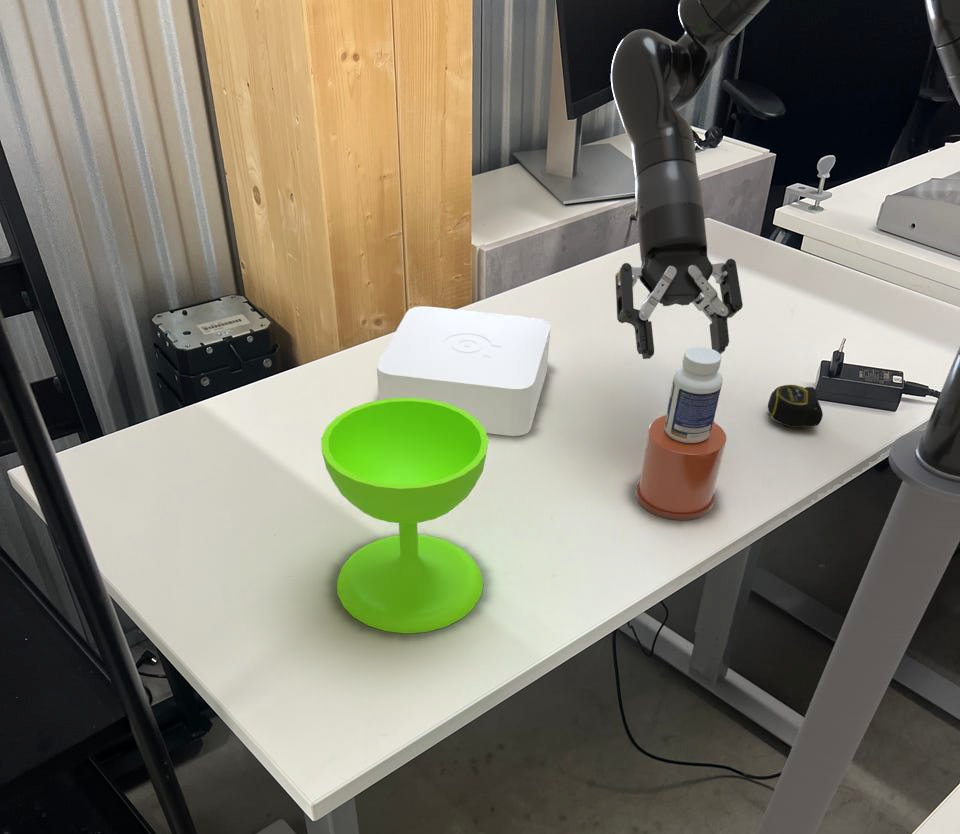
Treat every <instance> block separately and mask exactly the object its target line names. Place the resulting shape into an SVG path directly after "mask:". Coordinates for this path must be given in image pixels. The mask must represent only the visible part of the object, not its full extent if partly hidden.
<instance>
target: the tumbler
mask: <svg viewBox="0 0 960 834" xmlns="http://www.w3.org/2000/svg"><path fill="white" fill-rule="evenodd" d="M666 415H667V414H664V415H662V416H659V417H657V418H656V419H655V420H653V421H652V422H651V423H650V425H649V427H648V431H647V439H646V443H645V449H644V456H643V460H642V464H641V465H642V466H641V472H640V476H639V477H640V478H639V480H638V481H637V483H636V487H635V498H636V500H637V501H638V504H639V505H640V506H641V507H642V508H643V509H644V510H646V511H647V512H649V513H651V514H653V515H655V516H657V517H660V518H663V519H668V520H674V521H688V520H689V521H690V520H694V519H699V518H701V517H703V516H705V515H707V514H708V513H709V512H711V510H712V509H713V506H714V503H715V498H716V494H715V489H716V485H717V482H718V481H717V480H718V476H719V473H720V470H721V469H720V468H721V465H722V459H723V456H724V452H725V447H726V443H727V440H728V439H727V434H726V432H725V430H724V429H723V427H722V426H721V425H720V424H718V423H716V422H715V421H713V425H712V429H711V433H710V436H709V437H708V438H707V439H706V440H704V441H702V442H698V443H683V442H679V441H677V440H674V439H673V438H671V437H670V436H669V435H668V434H667V433H666V431H665V421H666Z"/></svg>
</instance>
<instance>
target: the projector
mask: <svg viewBox="0 0 960 834" xmlns="http://www.w3.org/2000/svg"><path fill="white" fill-rule="evenodd" d="M550 337H551V324H550V323H549V321H546V320H545V319H542V318H537V317H530V316H521V315H511V314H504V313H503V314H502V313H494V312H493V313H492V312H485V311H472V310H464V309H456V308H455V309H454V308H445V307H438V306H429V305H427V306H426V305H425V306H424V305H423V306H421V305H419V306H414V307H410V308H409V309H408V310H407V311H406V313H405V315H404V316H403V317H402V320H401V321H400V323H399V325H398V326H397V328H396V330H395V331H394V333H393V336H392V338H391V339H390V340H389V342H388V344H387V346H386V348H385V350H384V351H383V353H382V355H381V357H380V359H379V360H378V362H377V364H376V376H377V377H376V379H377V395H378V400H384V399H390V398H419V399H430V400H434V401H438V402H443V403H447V404H450V405H452V406H455V407H457V408H459V409H462V410H464V411H466V412H467V413H469V414H470V415H471V416H473V417H474V418H476V419H477V420H478V421H479V422H480V424H481V425H482V426H483V428H484V429H485V430H486V434H492V435H497V436H498V435H499V436H508V437H519V436H524V435H527V434H528V433H529V432H531V429H532V426H533V422H534V419H535V415H536V412H537V409H538V405H539V401H540V398H541V394H542V391H543V388H544V383H545V380H546V376H547V373H548V364H549V363H548V361H549V350H550Z"/></svg>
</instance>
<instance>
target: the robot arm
mask: <svg viewBox="0 0 960 834" xmlns="http://www.w3.org/2000/svg"><path fill="white" fill-rule="evenodd" d="M770 1H771V0H679V3H678V9H677V11H678V17H679V21H680V23H681V25H682V28H683V29H684V33H683V35H682V36H681V37H680V38H679V39H678V40H677V41H674V40H671V39H669V37H666V36H663V35H662V34H660V33H659V32H657V31H653V30H652V29H651V30H650V29H646V28H641V29H635V30H633V31H631V32H630V33H628V34H627V35H626V36H625V37H624V38H623V39H622V40H621V41H620V43H619V44H618V45H617V48H616V51H615V52H614V55H613V59H612V63H611V70H610V71H611V73H610V82H611V90H612V94H613V98H614V101H615V105H616V108H617V110H618V113H619V117H620V120H621V122H622V126H623V128H624V131H625V133H626V136H627V139H628V140H629V143H630V146H631V150H632V151H631V152H632V161H633V162H632V165H633V173H634V183H635V185H634V186H635V187H634V188H635V191H634V193H635V194H634V205H635V213H634V215H635V219H636V225H637V235H638V244H639V245H638V246H639V255H640V261H641V266H640V267H639V266H635V267H634V266H632V265H631V264H630V263H629V262H625V263H623V264H622V265H620V267H619V269H618V270H617V272H616V273H615V276H614V277H615V278H614V279H615V300H616V301H615V303H616V319H617V321H618V322H619V323H621V324H625V323H626V324H630V325H631V326H633V328H634V334H635V344H636V351H637V353H638V355H641V356H642V359H643V360H648V359H649V360H650V359H651V358H652V357H653V356H654V354H655V345H654V335H653V325H652V320H651V321H650V320H649V318H650V317H651V315H652V313H653V312H654V310H655V309H656V307H657V306H658V304H661V305H662V307H670V306H673V305H680V306H689V305H690V304H691V303H692V304H693V306H694V307H695V308H696V309H697V310H698V311H700V312H702V313H703V314H704V315H705V316H706V318H707V319H708V320H709V321H710V324H709V333H710V335H709V336H710V342H711V343H710V344H711V349H713V350H715V351H717V352H718V353H719V354H720V355H721V354H723V353H724V352H725V351H726V348H727V347H728V346H729V343H730V334H729V325H728V324H729V323H728V319H731V318H733V317H734V316H736V314H737V313H738V312H739V311H741V310H742V309H743V306H744V305H743V298H742V292H741V285H740V280H739V274H738V273H739V272H738V268H737V262H736V260H735V259H733V258H728V259H727V260H726V261H725V262H721V263H720V262H719V263H712V262H711V261H710V259H709V256H708V240H707V232H706V223H705V221H706V220H705V212H704V203H703V201H704V200H703V193H702V192H703V191H702V186H701V185H702V184H701V181H700V177H699V173H698V165H697V157H696V147H695V138H694V137H695V136H694V133H693V128H692V126H691V124H690V122H689V121H688V120H687V118H685V117H684V115H682V114H681V113H680V112H679V111H680V110H682V109H683V108H685V107H686V106H688V105H689V104H690V103H691V102H692V101H693V100H694V99H695V97H696V96H697V95H698V94H699V92H700V91H701V90H702V87H703V86H704V84H705V83H706V81H707V79H708V78H709V76H710V75H711V73H712V72H713V70H714V68H715V66H716V65H717V63H718V61H719V60H720V58H721V56H722V55H723V53H724V51H725V49H726V47H728V45H729V43H730V42H731V41H732V40H734V38H735V37H736V36H737V35H738V34H739V33H740V32H741V31H743V29H744V28H746V26H747V25H748V24H749V23H750V22H751V21H752V20H753V19H754V17H756V16H757V15H758V14H759V13H760V11H761V10H763V8H764V7H766V5H767V4H769V2H770ZM924 6H925V12H926V17H927V22H928V26H929V30H930V34H931V39H932V40H933V43H934V46H935V47H936V48H935V49H936V52H937V55H938V57H939V60H940V63H941V67H942V70H943V71H944V72H943V73H944V74H945V76H946V80H947V82H948V84H949V87H950V89H951V90H952V94H953V95H954V97H955V100H956V102H957V103H958V105H959V106H960V0H924ZM711 276H712V277H713V278H714V281H715V283H716V284H719V289H720V297H721V299H720V298H719V294H718V292H717V290H716V289H715V288H714V287H713V286H712V284H711V283H710V282H709V280H710V278H711ZM638 280H639V281H640V283H641V284H642V285H643V286H644V287H645V288H646V290H647V291H648V292H649V293H648V294H647V296H646V298H645V299H644V301H643V302H642V304H641V306H640V308H639V309H637V308H635V307H634V286H635V285H636V284H637V282H638ZM928 419H929V420H928V422H927V424H926V427H925V430H924V431H925V432H924V434H923V436H922V438H921V440H920V443H919V445H918V446H917V449H916V451H915V458H916V460H917V462H918V463H919V464H920V465H921V466H922V467H923V468H924V469H925V470H927V471H928V472H930V473H932V474H934V475H936V476H938V477H941V478H943V479H946V480H950V481H954V482H959V483H960V346H959V347H958V350H957V352H956V355H955V357H954V359H953V362H952V364H951V366H950V369H949V372H948V373H947V376H946V379H945V382H944V383H943V385H942V388H941V391H940V393H939V395H938V398H937V401H936V402H935V405H934V407H933V410H932V412H931V415H930V417H929V418H928Z"/></svg>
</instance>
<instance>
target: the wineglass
mask: <svg viewBox="0 0 960 834" xmlns="http://www.w3.org/2000/svg"><path fill="white" fill-rule="evenodd" d="M487 434H488V433H486V430H485V429H484V428H483V426H482V425H481V424H480V422H479V421H478V420H477V419H476V418H474V417H473V416H471V415H470V414H469V413H467V412H466V411H464V410H462V409H459V408H457V407H455V406H452V405H450V404H447V403H443V402H438V401H434V400H430V399H419V398H390V399H384V400H379V399H378V400H374V401H369V402H365V403H363V404H360V405H357V406H353V407H351V408H349V409H347V410H346V411H345V412H343V413H341V414H339V415H337V416H336V417H335V418H334V419H333V420H332V421H331V422H330V423H329V424H328V425H327V426H326V427H325V429H324V432H323V433H322V436H321V437H320V438H321V439H320V441H321V442H320V443H321V453H322V457H323V461H324V465H325V469H326V470H327V472H328V475H329V476H330V478H331V480H332V482H333V483H334V485H335V486H336V488H337V490H338V491H339V493H340V494H341V495H342V497H344V499H346V500H347V501H348V503H350V504H352V505H353V506H354V507H356V508H357V509H358V510H359V511H361V512H362V513H364V514H366V515H367V516H370V517H372V518H373V519H376V520H379V521H383V522H387V523H394V524H398V534H395V535H391V536H388V537H382V538H379V539H376V540H375V541H371V543H367V544H365V545H364V546H362V547H361V548H359V549H358V550H356V551H355V552H354V553H352V554H351V555H350V557H348V559H347V560H346V562H344V564H343V565H342V567H341V569H340V572H339V574H338V577H337V579H336V591H337V594H336V595H337V596H338V598H339V601H340V603H341V605H342V607H343V608H344V609H345V610H346V611H347V612H348V613H349V614H350V615H351V616H352V617H353V618H354V619H356V620H358V621H359V622H361V623H363V624H365V625H366V626H368V627H371V628H374V629H378V630H381V631H384V632H388V633H389V632H390V633H397V634H417V633H428V632H432V631H436V630H441V629H444V628H447V627H448V626H450V625H452V624H454V623H456V622H458V621H460V620H462V619H463V618H464V617H465V616H467V615H468V614H469V613H470V612H471V611H473V610H474V609H475V607H476V605H477V604H478V602H479V601H480V599H481V598H482V594H483V589H484V581H483V576H482V571H481V569H480V567H479V566H478V564H477V563H476V561H475V559H474V558H473V557H472V556H471V555H470V554H469V553H467V551H466V550H464V549H463V548H462V547H460V546H458V545H457V544H454V543H452V542H450V541H448V540H446V539H443V538H439V537H435V536H433V535H425V534H418V524H419V523H424V522H429V521H433V520H436V519H438V518H440V517H443V516H445V515H446V514H448V513H449V512H451V511H452V510H454V509H455V508H456V507H457V506H459V505H460V504H461V503H462V502H463V501H465V499H467V498H468V496H469V495H470V493H471V492H472V491H473V489H474V488H475V487H476V484H477V483H478V481H479V479H480V477H481V475H482V474H483V472H484V468H485V463H486V458H487V452H488V447H489V438H488V435H487Z"/></svg>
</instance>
